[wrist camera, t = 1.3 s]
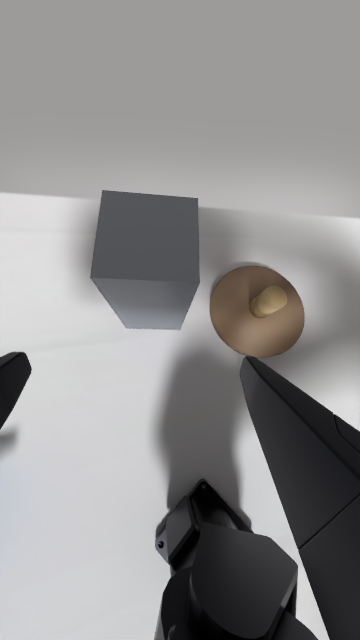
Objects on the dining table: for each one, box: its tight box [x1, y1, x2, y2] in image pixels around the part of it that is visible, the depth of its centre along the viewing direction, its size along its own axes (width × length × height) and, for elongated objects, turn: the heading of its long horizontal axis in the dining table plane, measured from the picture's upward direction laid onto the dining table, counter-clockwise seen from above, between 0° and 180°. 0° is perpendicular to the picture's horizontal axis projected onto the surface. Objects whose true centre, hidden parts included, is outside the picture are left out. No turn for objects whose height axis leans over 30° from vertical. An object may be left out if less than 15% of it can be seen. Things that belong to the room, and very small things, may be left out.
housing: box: [90, 190, 200, 330], centre depth 18 cm, size 6×6×12 cm
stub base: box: [210, 266, 304, 358], centre depth 22 cm, size 11×11×5 cm
